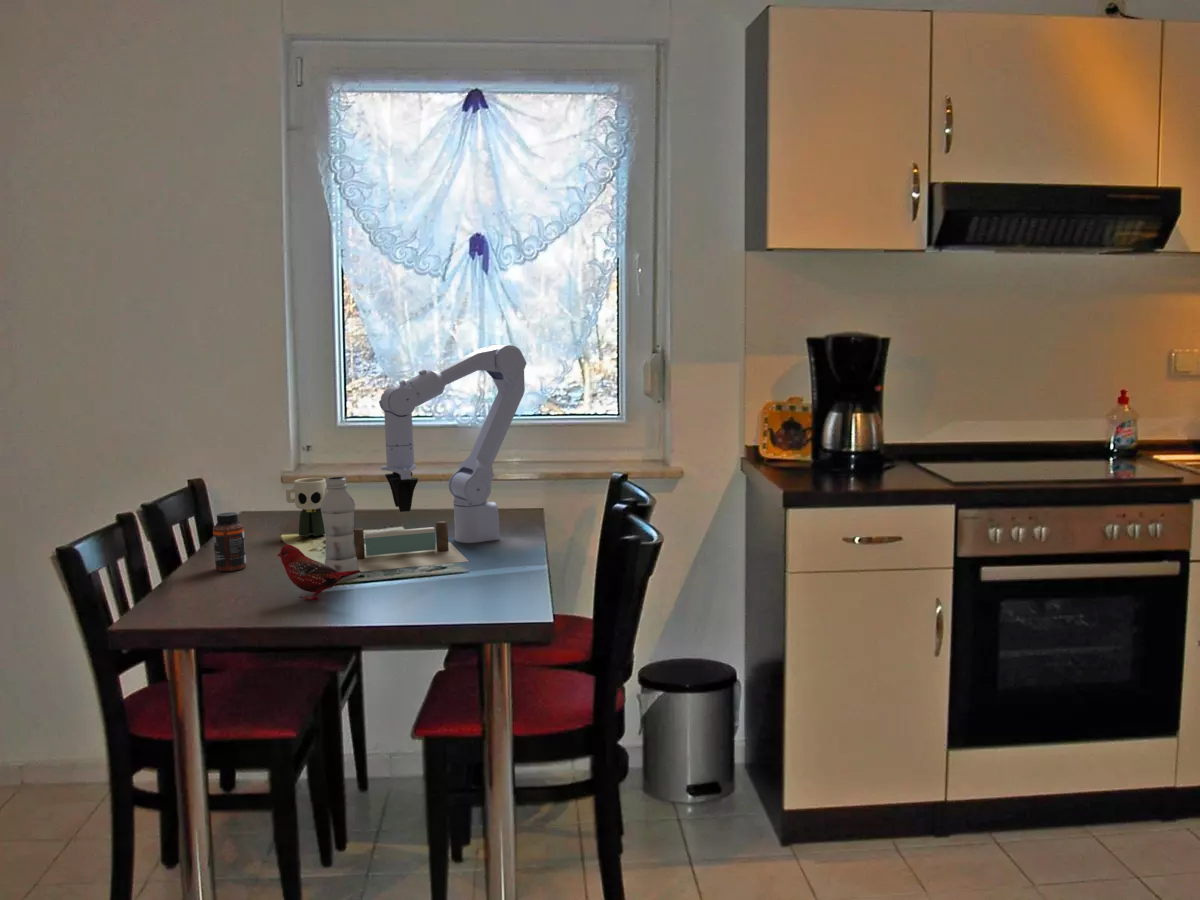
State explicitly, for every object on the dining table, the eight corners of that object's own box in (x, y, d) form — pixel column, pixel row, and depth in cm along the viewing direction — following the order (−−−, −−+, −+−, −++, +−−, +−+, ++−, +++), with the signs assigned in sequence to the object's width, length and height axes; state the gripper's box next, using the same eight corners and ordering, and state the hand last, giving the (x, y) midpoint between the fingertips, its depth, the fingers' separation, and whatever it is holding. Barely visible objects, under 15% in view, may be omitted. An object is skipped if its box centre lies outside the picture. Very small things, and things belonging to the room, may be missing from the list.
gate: (434, 548, 238) (433, 527, 238) (435, 549, 237) (434, 528, 236) (366, 554, 234) (365, 532, 233) (367, 556, 232) (366, 534, 232)
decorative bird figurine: (285, 595, 208) (281, 541, 207) (367, 603, 201) (364, 547, 200) (274, 599, 205) (271, 545, 204) (357, 607, 199) (354, 551, 197)
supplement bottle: (252, 566, 233) (249, 511, 231) (234, 573, 227) (230, 517, 226) (228, 564, 235) (224, 510, 233) (209, 571, 229) (205, 515, 228)
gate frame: (450, 546, 246) (448, 514, 246) (468, 566, 228) (467, 531, 227) (346, 556, 240) (344, 523, 239) (356, 577, 221) (354, 541, 220)
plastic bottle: (329, 588, 213) (323, 482, 210) (320, 580, 219) (314, 477, 216) (363, 583, 216) (358, 478, 213) (354, 576, 222) (348, 474, 219)
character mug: (286, 540, 258) (282, 483, 256) (290, 534, 265) (287, 478, 263) (335, 537, 259) (332, 481, 257) (338, 531, 266) (335, 476, 264)
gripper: (375, 442, 244) (379, 504, 246) (384, 449, 231) (388, 516, 232) (409, 440, 246) (412, 502, 248) (419, 447, 233) (422, 513, 234)
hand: (402, 508), depth 240 cm, fingers open, 6 cm apart
